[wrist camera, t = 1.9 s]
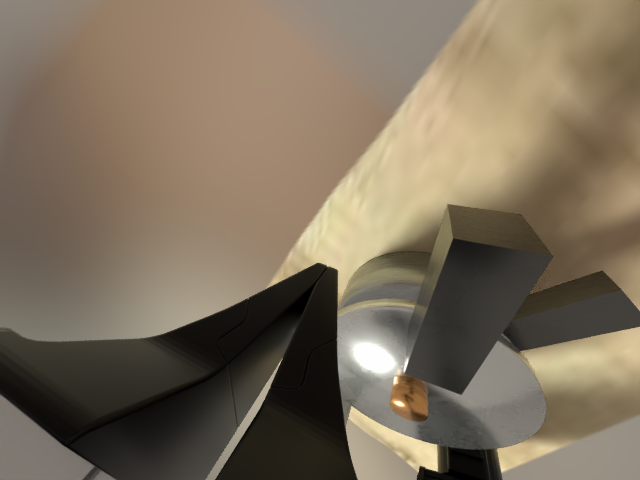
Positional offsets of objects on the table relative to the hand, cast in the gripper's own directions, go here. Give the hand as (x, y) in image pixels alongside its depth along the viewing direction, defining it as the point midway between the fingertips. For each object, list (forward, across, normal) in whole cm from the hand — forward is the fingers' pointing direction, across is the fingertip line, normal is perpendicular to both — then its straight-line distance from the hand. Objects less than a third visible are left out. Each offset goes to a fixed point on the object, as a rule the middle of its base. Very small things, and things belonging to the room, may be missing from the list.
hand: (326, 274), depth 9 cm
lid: (+5, -7, +8) cm, 11 cm away
